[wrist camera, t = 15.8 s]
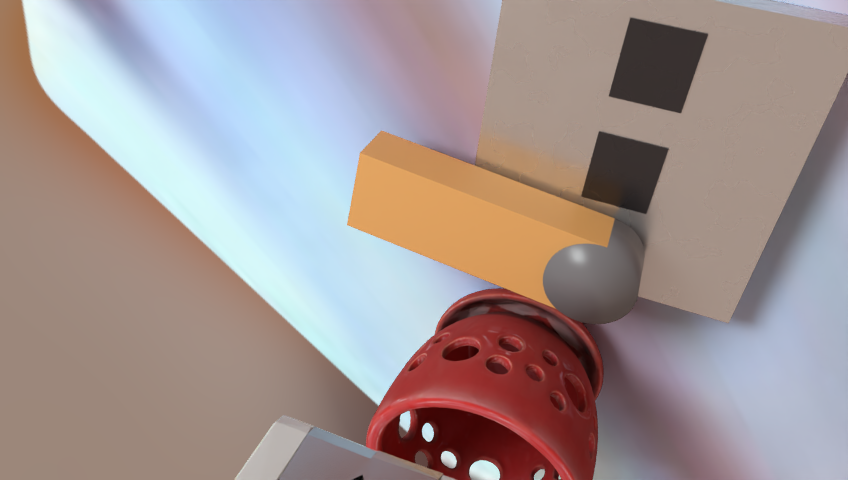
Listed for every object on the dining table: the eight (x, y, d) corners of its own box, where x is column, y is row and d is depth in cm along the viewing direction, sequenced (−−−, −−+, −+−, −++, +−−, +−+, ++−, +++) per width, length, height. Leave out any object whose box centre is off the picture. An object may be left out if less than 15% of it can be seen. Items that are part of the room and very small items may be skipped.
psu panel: (861, 17, 32) (868, 31, 31) (728, 302, 42) (728, 324, 41) (519, -50, 36) (508, -41, 34) (470, 227, 46) (461, 244, 44)
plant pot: (432, 251, 48) (358, 370, 39) (632, 297, 44) (604, 441, 35) (426, 389, 55) (363, 517, 46) (597, 438, 52) (566, 588, 42)
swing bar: (381, 130, 41) (357, 155, 39) (659, 234, 39) (653, 268, 36) (367, 200, 44) (345, 227, 42) (624, 301, 42) (617, 337, 39)
